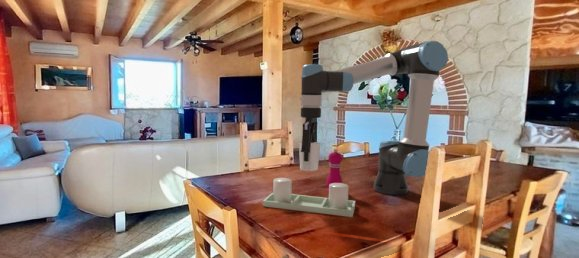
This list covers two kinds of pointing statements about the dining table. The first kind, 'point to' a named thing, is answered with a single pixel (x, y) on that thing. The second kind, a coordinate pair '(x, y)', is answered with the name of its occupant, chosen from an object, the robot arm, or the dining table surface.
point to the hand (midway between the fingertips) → (309, 167)
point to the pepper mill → (334, 168)
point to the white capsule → (282, 190)
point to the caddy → (310, 205)
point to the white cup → (314, 156)
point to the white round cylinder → (338, 196)
